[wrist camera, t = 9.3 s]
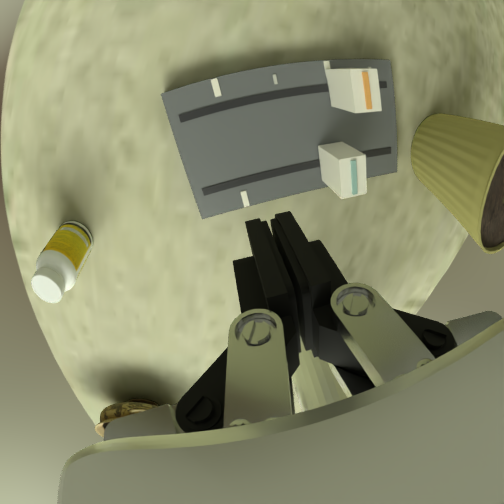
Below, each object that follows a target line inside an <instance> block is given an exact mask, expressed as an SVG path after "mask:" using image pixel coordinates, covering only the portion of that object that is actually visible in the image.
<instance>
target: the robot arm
mask: <svg viewBox="0 0 504 504" xmlns="http://www.w3.org/2000/svg"><path fill="white" fill-rule="evenodd" d="M270 221H271V227H272V233H273V235H272V233H271V231H270V228H269V226H268V224H267V221H262V222H261V220H260V218H258V219H254V220H250V221H246V222H245V224H246V228H247V233H248V237H249V241H250V245H251V250H252V254H253V256H251V257H247V258H243V259H238V260H234V261H233V266H234V272H235V278H236V284H237V290H238V296H239V302H240V308H241V314H240V315H239V316H238V317H237V318H235V319H234V321H233V322H232V324H231V325H230V329H229V336H228V347H227V348H226V350H225V351H224V352H223V353H222V354H221V355H220V356H219V357H218V358H217V360H216V361H215V362H214V363H213V364H212V365H211V366H210V367H209V368H208V370H207V371H206V372H205V373H204V374H203V375H202V376H201V377H200V378H199V379H198V381H197V382H196V383H195V384H194V385H193V386H192V387H191V388H190V389H189V390H188V391H187V392H186V393H185V394H184V396H183V397H182V398H181V399H180V401H179V402H178V403H177V404H174V405H171V406H170V405H169V404H165V405H161V406H158V407H155V408H152V409H149V410H145V411H142V412H138V413H135V414H131V415H128V416H124V417H120V418H117V419H115V420H113V421H111V422H110V423H109V424H108V425H107V426H106V429H105V431H104V441H103V442H99V443H96V444H93V445H91V446H88V447H86V448H84V449H82V450H80V451H78V452H76V453H75V454H74V455H72V456H71V457H70V458H69V459H68V460H67V462H66V463H65V465H64V467H63V470H62V473H61V477H60V482H59V490H58V504H504V318H502V317H501V316H500V315H499V314H497V313H496V312H492V311H485V312H482V313H478V314H475V315H471V316H467V317H463V318H459V319H455V320H450V321H447V323H446V325H444V324H442V323H439V322H437V321H434V320H430V319H427V318H423V317H420V316H416V315H413V314H410V313H406V312H403V311H400V310H396V309H393V308H392V307H391V306H390V305H389V304H388V303H387V302H386V301H385V300H384V299H383V298H382V297H381V295H380V294H379V293H378V292H377V291H376V290H374V289H373V288H372V287H370V286H368V285H366V284H362V283H349V284H348V283H347V281H346V280H345V278H344V277H343V275H342V273H341V272H340V270H339V269H338V267H337V265H336V264H335V262H334V261H333V259H332V257H331V256H330V254H329V253H328V251H327V250H326V248H325V247H324V245H323V244H322V242H321V241H320V240H315V241H311V242H308V240H307V238H306V237H305V235H304V233H303V232H302V230H301V228H300V227H299V225H298V223H297V222H296V220H295V218H294V217H293V215H292V213H291V212H290V211H288V212H283V213H279V214H275V219H271V220H270ZM292 379H293V383H294V386H295V390H296V393H297V396H298V400H299V403H300V407H301V410H302V412H300V413H297V414H295V406H294V395H293V385H292Z"/></svg>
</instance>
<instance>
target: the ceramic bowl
mask: <svg viewBox="0 0 504 504" xmlns="http://www.w3.org/2000/svg"><path fill="white" fill-rule="evenodd" d="M155 407H158V405H157V404H156V403H155V402H152V401H149V400H145V399H131V400H129V401H128V402H123V403H117V404H113V405H110V406H108V407H106V408H105V409H104V410H103V411H102V412H101V415H100V423H99V424H97V425H96V426H95V430H96V432H97V433H98V434H99V435H100V436H102V437H104V431H105V429H106V426H107V425H108V424H109V423H110V422H111V421H113V420H115V419H117V418H120V417H124V416H128V415H131V414H135V413H138V412H142V411H145V410H149V409H152V408H155Z"/></svg>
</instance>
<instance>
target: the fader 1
mask: <svg viewBox="0 0 504 504" xmlns="http://www.w3.org/2000/svg"><path fill="white" fill-rule="evenodd" d="M325 70H326V76H327V81H328V87H329V93H330V100H331V106H332V107H336V108H339V109H343V110H346V111H349V112H353V113H364V112H375V111H382V108H381V97H380V88H379V80H378V73H377V69H371V68H339V69H325Z"/></svg>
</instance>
